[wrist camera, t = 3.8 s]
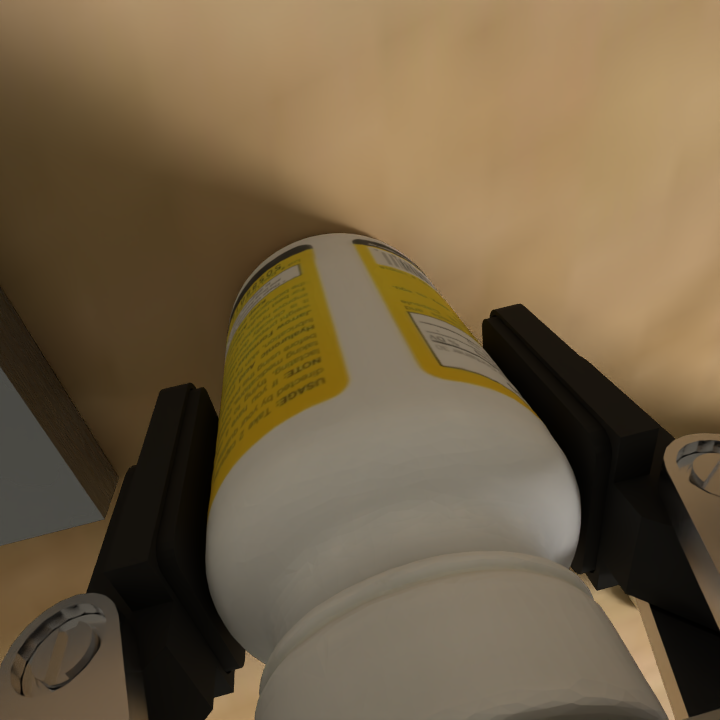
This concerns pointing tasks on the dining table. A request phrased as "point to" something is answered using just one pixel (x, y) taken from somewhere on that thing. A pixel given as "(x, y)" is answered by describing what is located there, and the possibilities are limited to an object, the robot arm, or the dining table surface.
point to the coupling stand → (43, 445)
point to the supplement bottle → (396, 510)
